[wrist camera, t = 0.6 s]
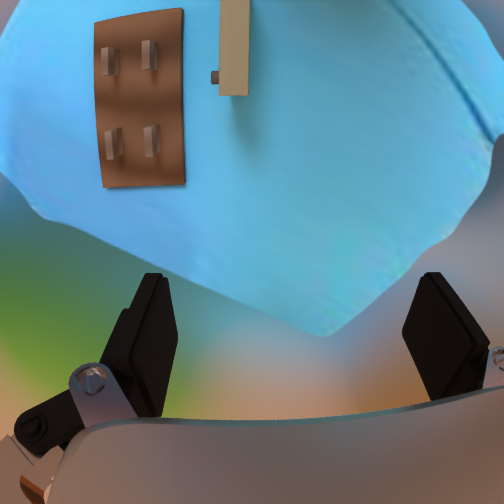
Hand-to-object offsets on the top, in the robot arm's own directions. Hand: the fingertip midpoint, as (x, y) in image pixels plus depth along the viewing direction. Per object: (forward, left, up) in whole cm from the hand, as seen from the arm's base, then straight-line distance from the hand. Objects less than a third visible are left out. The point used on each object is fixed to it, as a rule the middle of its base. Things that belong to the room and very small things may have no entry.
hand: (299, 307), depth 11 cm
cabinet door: (-13, -3, -26) cm, 29 cm away
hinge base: (-7, -14, -26) cm, 30 cm away
